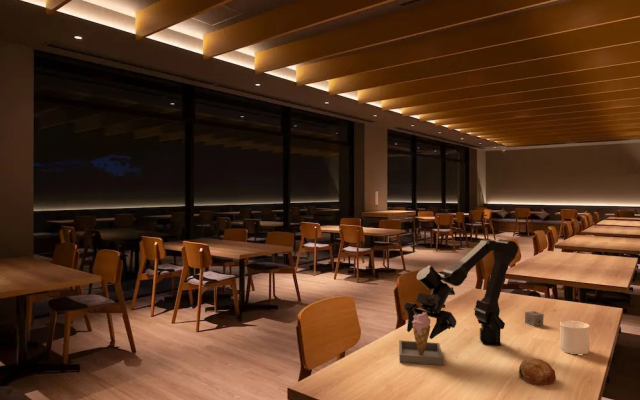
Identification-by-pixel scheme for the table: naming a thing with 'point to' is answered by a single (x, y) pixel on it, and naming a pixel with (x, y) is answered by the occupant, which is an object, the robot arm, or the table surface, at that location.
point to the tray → (411, 355)
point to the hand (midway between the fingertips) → (418, 334)
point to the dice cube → (534, 318)
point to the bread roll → (537, 372)
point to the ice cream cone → (421, 331)
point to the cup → (574, 337)
